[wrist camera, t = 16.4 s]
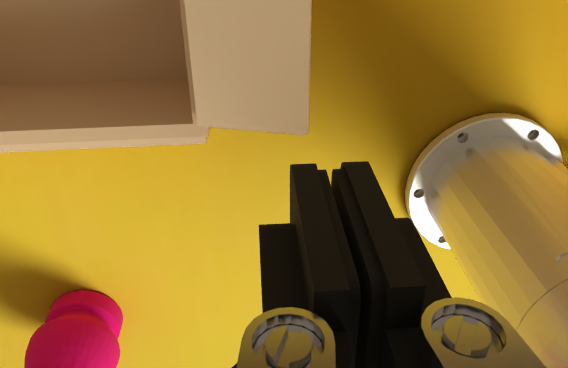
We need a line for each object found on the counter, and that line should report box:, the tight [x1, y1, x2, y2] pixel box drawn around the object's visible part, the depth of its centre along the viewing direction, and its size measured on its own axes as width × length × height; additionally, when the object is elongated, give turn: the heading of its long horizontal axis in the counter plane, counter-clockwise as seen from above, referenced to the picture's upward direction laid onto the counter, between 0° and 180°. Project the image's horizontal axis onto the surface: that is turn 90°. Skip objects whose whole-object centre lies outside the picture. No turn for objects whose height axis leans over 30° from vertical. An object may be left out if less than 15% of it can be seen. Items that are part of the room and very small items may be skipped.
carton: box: [0, 0, 210, 153], centre depth 28 cm, size 18×13×8 cm
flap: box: [184, 0, 312, 135], centre depth 24 cm, size 1×10×6 cm
